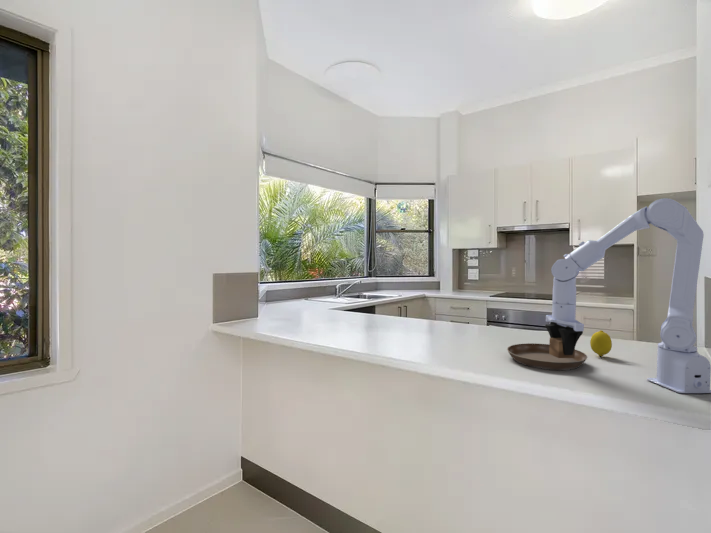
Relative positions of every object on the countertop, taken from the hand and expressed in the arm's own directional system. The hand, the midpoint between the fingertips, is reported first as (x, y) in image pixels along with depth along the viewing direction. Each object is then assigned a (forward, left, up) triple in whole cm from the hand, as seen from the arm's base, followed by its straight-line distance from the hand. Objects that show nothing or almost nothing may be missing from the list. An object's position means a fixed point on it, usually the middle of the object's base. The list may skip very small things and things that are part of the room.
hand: (562, 352), depth 106 cm
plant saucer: (+5, +2, -4) cm, 7 cm away
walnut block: (0, 0, -1) cm, 1 cm away
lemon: (+10, -18, -4) cm, 21 cm away
